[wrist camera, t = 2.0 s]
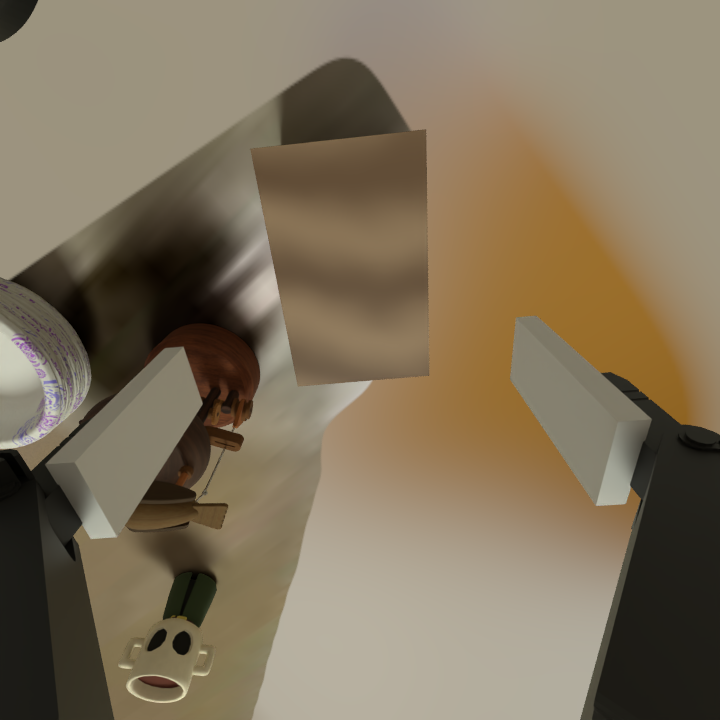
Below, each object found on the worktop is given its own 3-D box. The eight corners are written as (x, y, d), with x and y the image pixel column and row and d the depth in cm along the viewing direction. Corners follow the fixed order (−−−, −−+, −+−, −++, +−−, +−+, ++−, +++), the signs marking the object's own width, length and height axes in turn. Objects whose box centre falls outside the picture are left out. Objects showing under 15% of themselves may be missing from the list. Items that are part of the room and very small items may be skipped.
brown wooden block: (281, 150, 31) (250, 148, 22) (406, 136, 31) (426, 129, 22) (311, 333, 38) (297, 386, 30) (412, 324, 38) (429, 375, 29)
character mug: (235, 571, 56) (204, 679, 45) (232, 600, 59) (202, 707, 48) (158, 561, 55) (105, 669, 43) (159, 591, 58) (110, 699, 47)
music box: (271, 320, 38) (201, 489, 21) (279, 407, 44) (229, 593, 27) (113, 314, 37) (-89, 481, 21) (142, 403, 43) (5, 589, 26)
